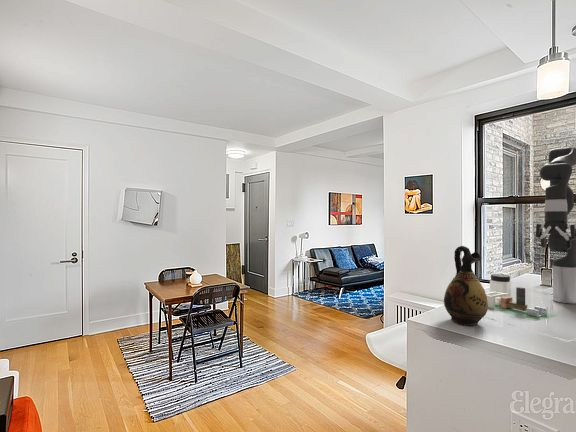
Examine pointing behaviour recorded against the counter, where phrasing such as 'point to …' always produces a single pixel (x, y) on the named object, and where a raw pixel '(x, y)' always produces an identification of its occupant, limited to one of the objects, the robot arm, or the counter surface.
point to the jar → (500, 283)
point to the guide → (537, 312)
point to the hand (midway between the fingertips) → (555, 248)
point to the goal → (493, 295)
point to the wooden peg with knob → (520, 300)
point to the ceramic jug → (465, 291)
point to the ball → (498, 301)
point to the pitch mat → (519, 313)
